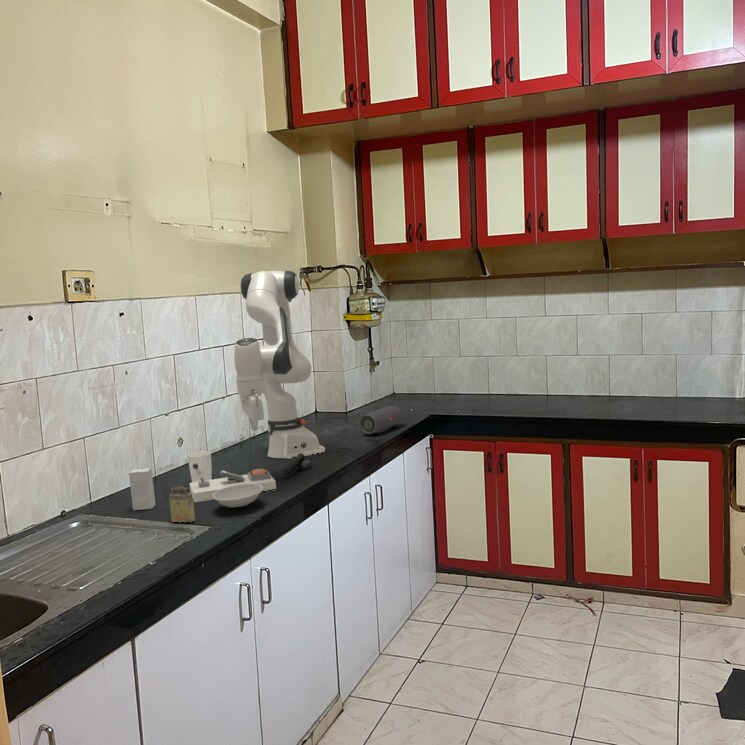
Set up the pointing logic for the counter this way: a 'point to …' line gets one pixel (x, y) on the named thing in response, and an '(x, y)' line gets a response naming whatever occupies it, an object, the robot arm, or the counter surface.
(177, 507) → the lighter
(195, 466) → the toggle lever
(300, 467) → the can opener
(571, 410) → the counter surface
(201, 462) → the white cup
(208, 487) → the switch panel
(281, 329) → the robot arm
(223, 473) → the block
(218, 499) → the dish
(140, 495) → the skincare box
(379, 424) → the bluetooth speaker
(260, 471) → the push button
